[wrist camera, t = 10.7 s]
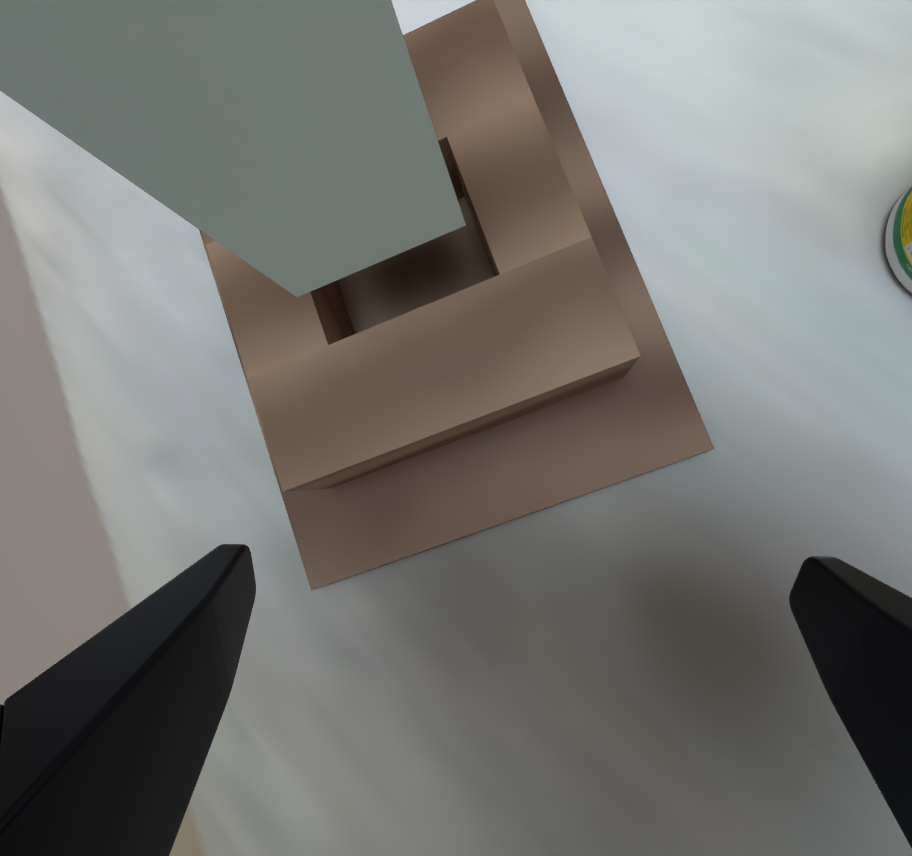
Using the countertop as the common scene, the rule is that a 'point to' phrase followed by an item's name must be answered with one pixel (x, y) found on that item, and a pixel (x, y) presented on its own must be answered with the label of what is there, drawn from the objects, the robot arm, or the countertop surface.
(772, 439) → the countertop surface
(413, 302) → the brown stepped stand
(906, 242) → the supplement bottle
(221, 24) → the stub
